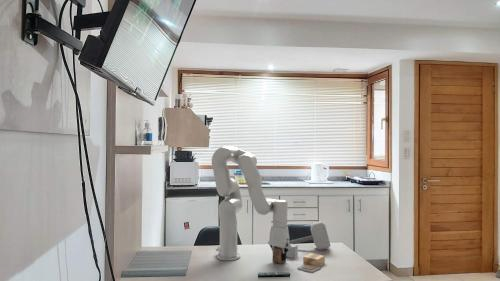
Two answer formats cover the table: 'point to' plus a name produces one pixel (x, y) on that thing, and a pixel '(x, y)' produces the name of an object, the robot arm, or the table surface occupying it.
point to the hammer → (316, 236)
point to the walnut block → (277, 255)
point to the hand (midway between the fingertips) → (279, 259)
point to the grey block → (292, 251)
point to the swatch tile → (309, 268)
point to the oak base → (314, 259)
